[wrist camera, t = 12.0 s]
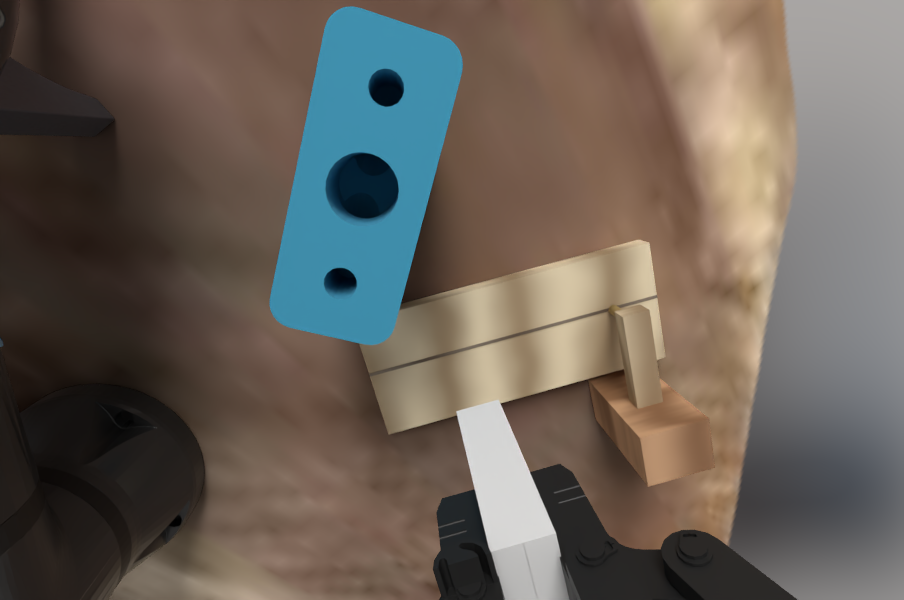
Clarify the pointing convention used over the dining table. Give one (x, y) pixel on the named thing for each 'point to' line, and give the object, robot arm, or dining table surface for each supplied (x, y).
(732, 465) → the dining table surface
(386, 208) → the block
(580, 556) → the robot arm
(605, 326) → the board
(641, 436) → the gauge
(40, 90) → the planter
